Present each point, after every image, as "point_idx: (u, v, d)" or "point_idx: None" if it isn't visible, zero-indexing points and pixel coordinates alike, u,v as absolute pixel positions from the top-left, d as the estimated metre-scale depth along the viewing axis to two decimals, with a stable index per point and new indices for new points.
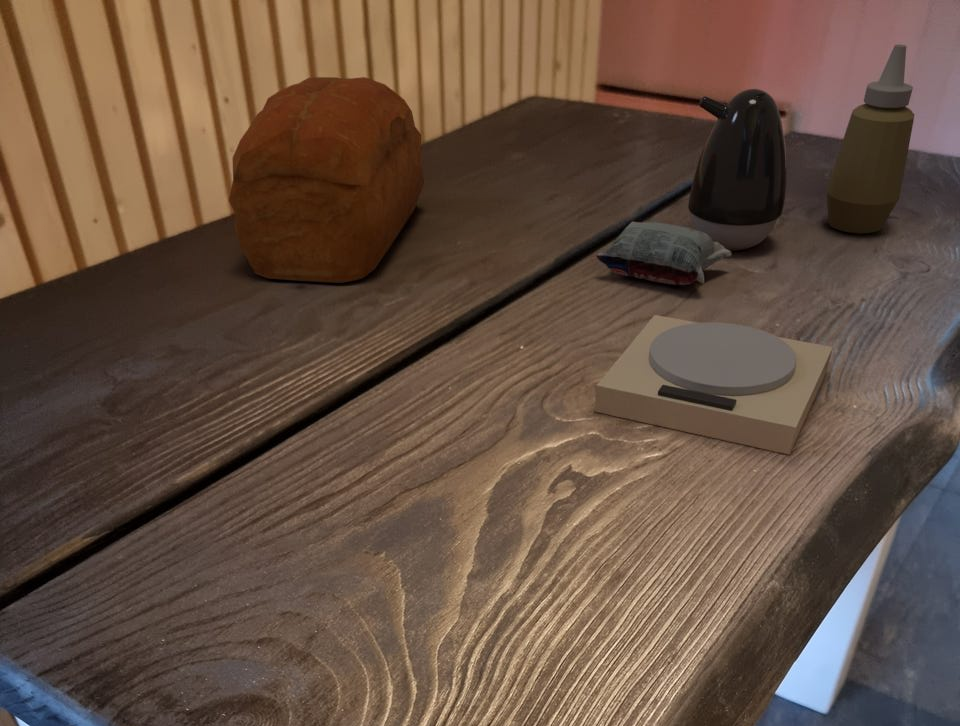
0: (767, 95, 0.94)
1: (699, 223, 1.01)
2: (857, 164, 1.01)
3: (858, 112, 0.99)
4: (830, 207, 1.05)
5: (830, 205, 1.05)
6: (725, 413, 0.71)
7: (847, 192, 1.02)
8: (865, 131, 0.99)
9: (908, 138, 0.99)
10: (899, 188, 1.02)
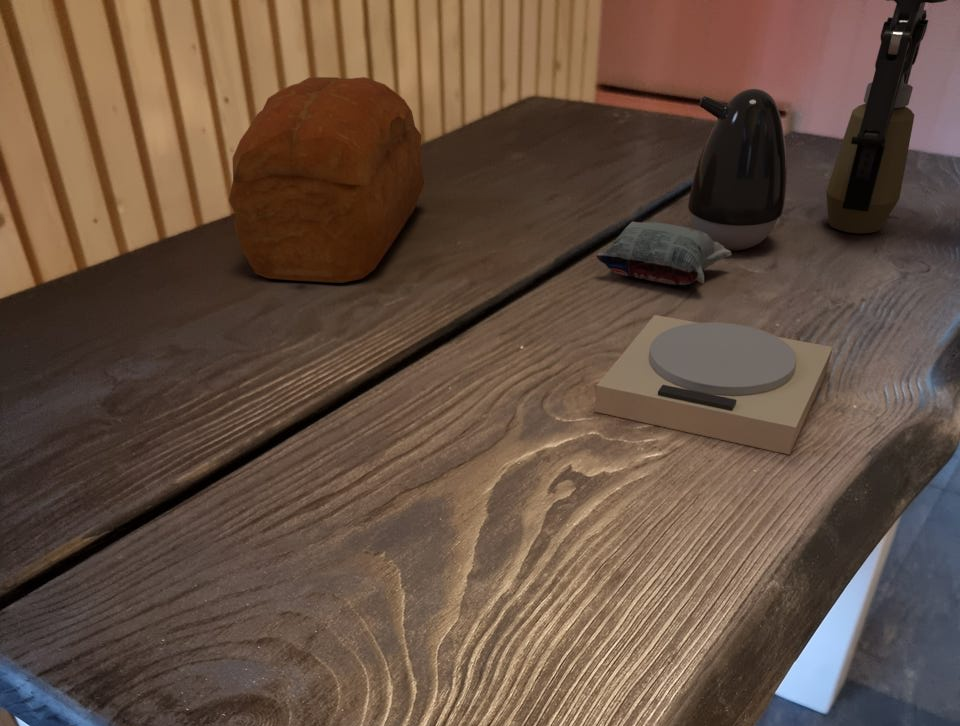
0: (767, 95, 0.94)
1: (699, 223, 1.01)
2: None
3: (858, 112, 0.99)
4: (830, 207, 1.05)
5: (830, 205, 1.05)
6: (725, 413, 0.71)
7: None
8: None
9: (908, 138, 0.99)
10: (899, 188, 1.02)
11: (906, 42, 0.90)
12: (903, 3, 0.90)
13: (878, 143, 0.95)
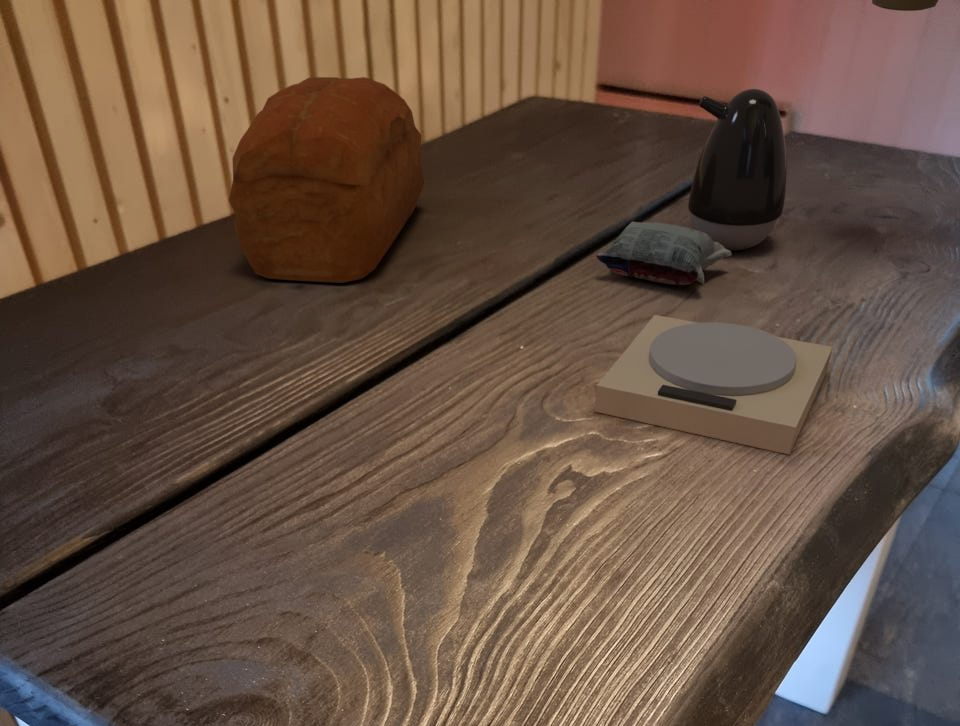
0: (767, 95, 0.94)
1: (699, 223, 1.01)
2: None
3: None
4: None
5: None
6: (725, 413, 0.71)
7: None
8: None
9: None
10: None
11: None
12: None
13: None
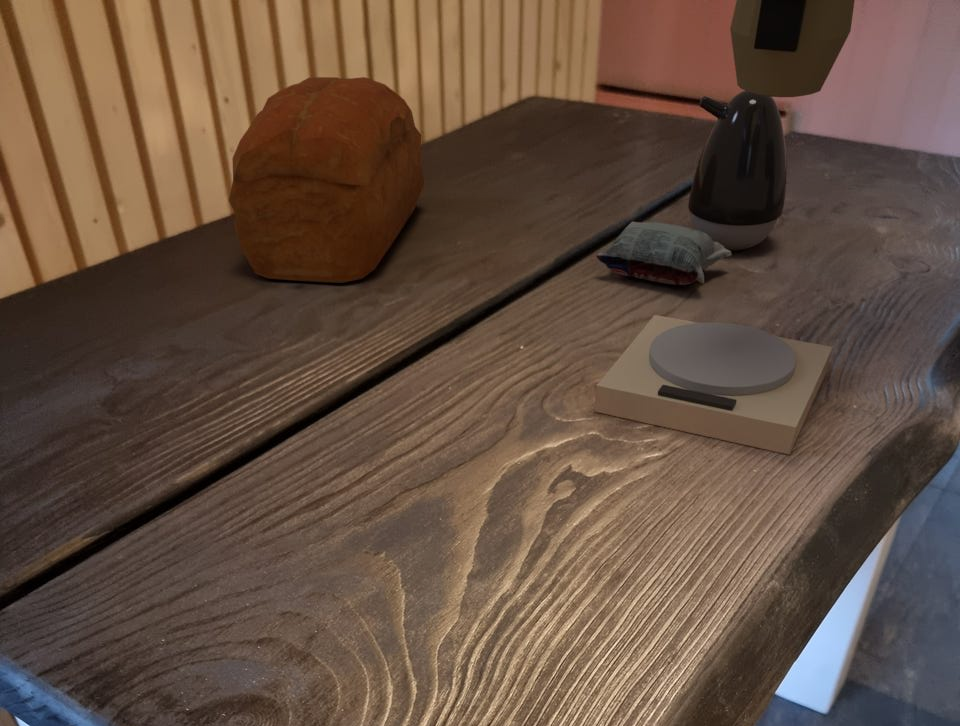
0: None
1: (699, 223, 1.01)
2: None
3: None
4: (737, 54, 0.64)
5: (736, 50, 0.64)
6: (725, 413, 0.71)
7: None
8: None
9: None
10: (846, 14, 0.61)
11: None
12: None
13: None
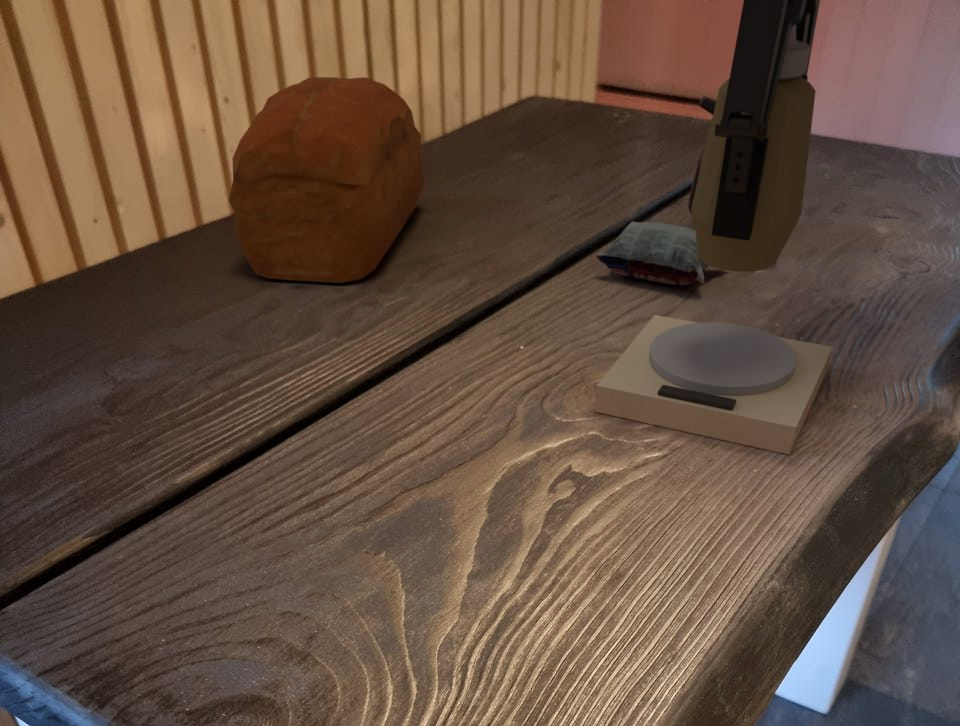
0: None
1: None
2: None
3: (727, 86, 0.63)
4: (697, 232, 0.70)
5: (697, 229, 0.70)
6: (725, 413, 0.71)
7: None
8: None
9: (806, 127, 0.64)
10: (796, 204, 0.67)
11: None
12: None
13: (752, 134, 0.59)
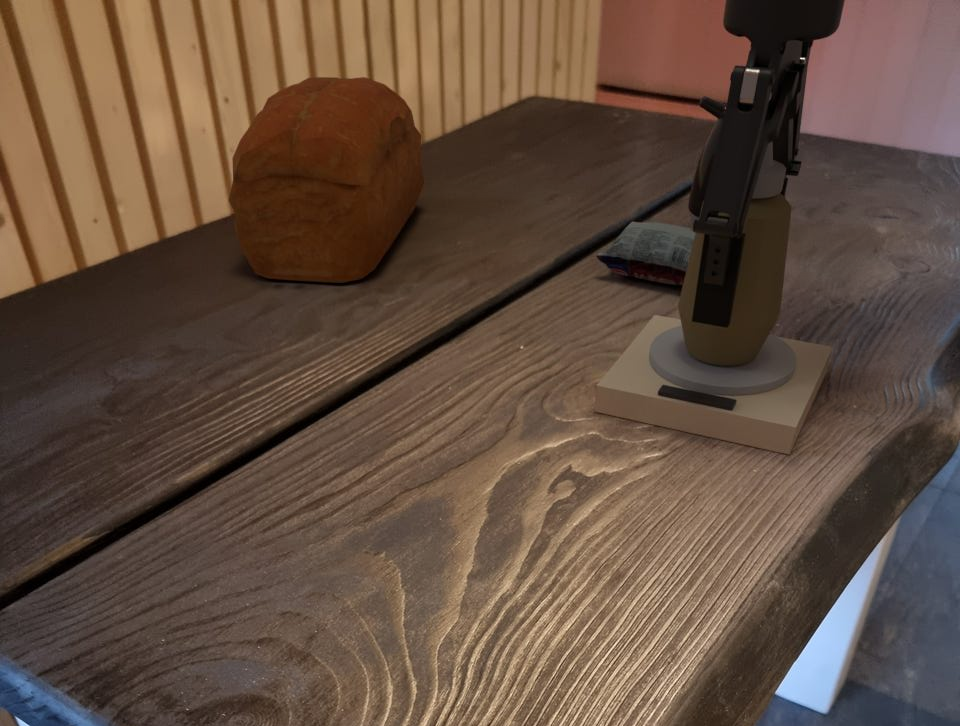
0: None
1: None
2: None
3: None
4: (683, 328, 0.75)
5: (683, 326, 0.75)
6: (725, 413, 0.71)
7: None
8: None
9: (783, 240, 0.69)
10: (775, 306, 0.72)
11: (766, 82, 0.58)
12: (760, 41, 0.59)
13: (728, 235, 0.61)
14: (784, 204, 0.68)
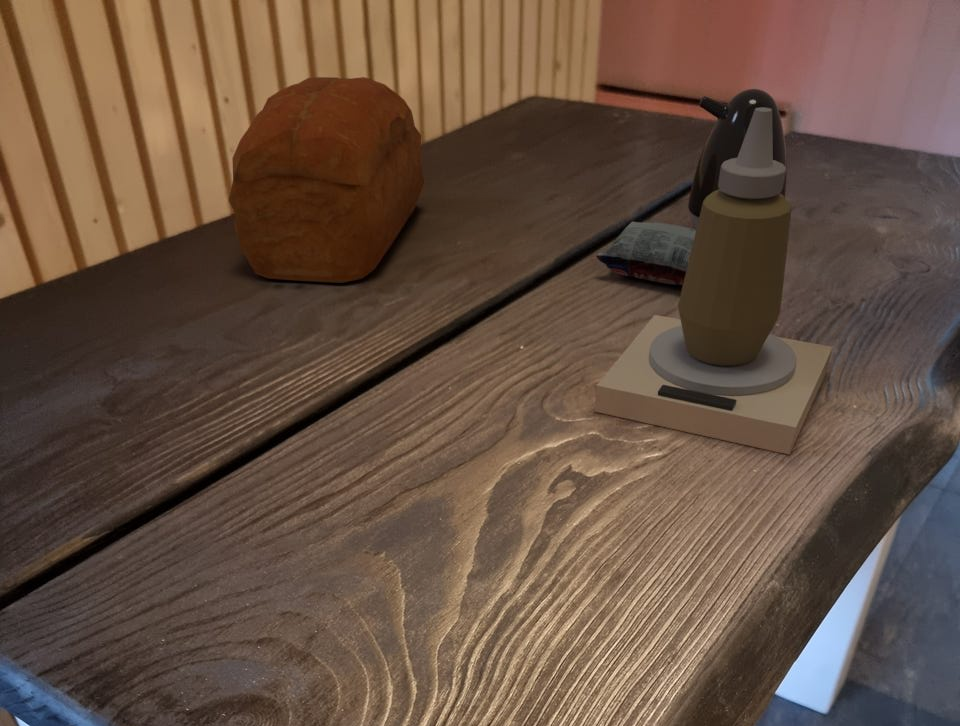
0: (767, 95, 0.94)
1: None
2: (711, 275, 0.70)
3: (710, 202, 0.69)
4: (683, 328, 0.75)
5: (683, 326, 0.75)
6: (725, 413, 0.71)
7: (702, 312, 0.72)
8: (719, 230, 0.68)
9: (783, 240, 0.69)
10: (775, 306, 0.72)
11: None
12: None
13: None
14: (784, 204, 0.68)
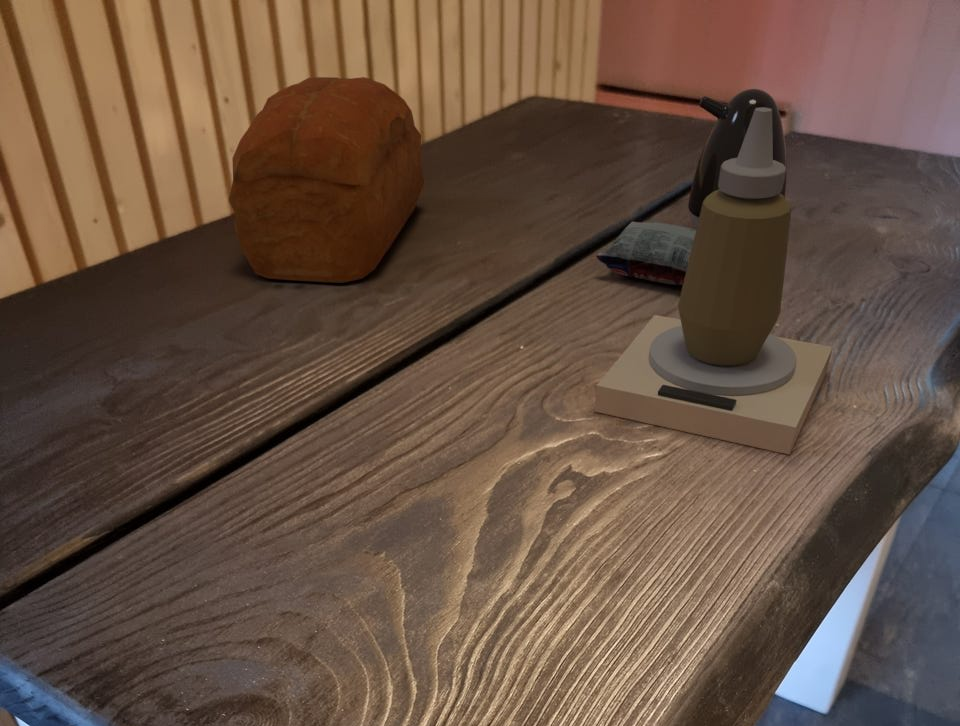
0: (767, 95, 0.94)
1: None
2: (711, 275, 0.70)
3: (710, 202, 0.69)
4: (683, 328, 0.75)
5: (683, 326, 0.75)
6: (725, 413, 0.71)
7: (702, 312, 0.72)
8: (719, 230, 0.68)
9: (783, 240, 0.69)
10: (775, 306, 0.72)
11: None
12: None
13: None
14: (784, 204, 0.68)
